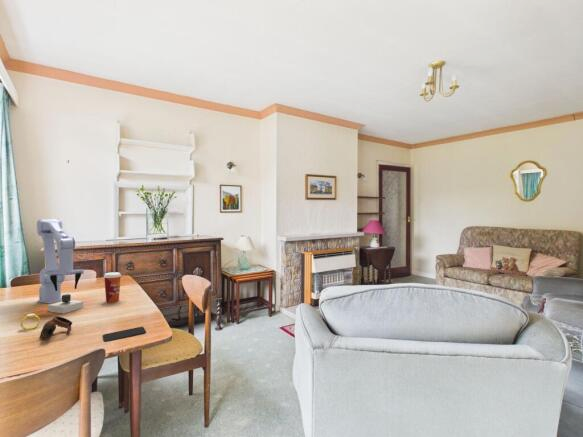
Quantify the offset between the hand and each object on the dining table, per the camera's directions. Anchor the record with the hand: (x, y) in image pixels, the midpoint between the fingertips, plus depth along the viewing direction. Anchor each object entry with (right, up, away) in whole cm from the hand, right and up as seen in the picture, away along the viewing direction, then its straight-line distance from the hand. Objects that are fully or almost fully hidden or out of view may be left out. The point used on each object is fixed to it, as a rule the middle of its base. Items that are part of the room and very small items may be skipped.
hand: (66, 289), depth 151 cm
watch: (+2, -11, -23) cm, 26 cm away
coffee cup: (+14, -10, +15) cm, 23 cm away
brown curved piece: (+18, -12, -30) cm, 37 cm away
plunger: (0, -10, 0) cm, 10 cm away
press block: (0, -10, 0) cm, 10 cm away
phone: (+44, -13, -27) cm, 53 cm away
